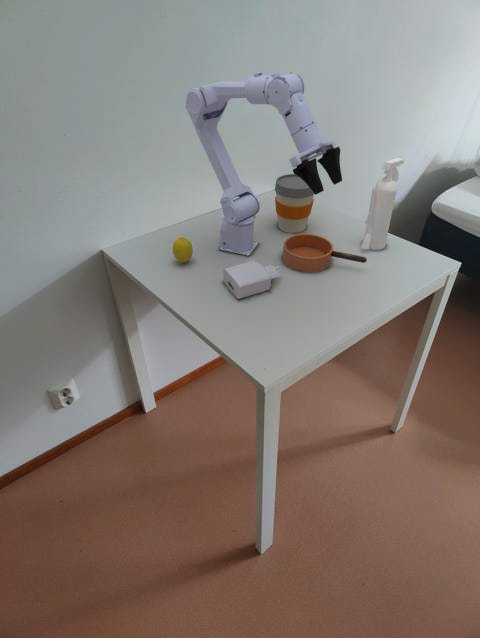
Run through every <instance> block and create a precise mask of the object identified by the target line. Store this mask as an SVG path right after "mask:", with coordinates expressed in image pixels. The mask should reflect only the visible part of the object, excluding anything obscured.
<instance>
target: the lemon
mask: <svg viewBox="0 0 480 638" xmlns="http://www.w3.org/2000/svg"><path fill="white" fill-rule="evenodd" d="M193 251H194V249H193V245H192V242H191V241H190V239H188V238H186V237H185V236H180V237H178V238H177V239H175V240H174V242H173V243H172V254H173V256H174V258H175V259H176V260H177V261H179V262H181V263H186V262H188V261H190V260H191V258H192V256H193V254H194V253H193Z"/></svg>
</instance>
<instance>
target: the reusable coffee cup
mask: <svg viewBox="0 0 480 638" xmlns="http://www.w3.org/2000/svg"><path fill="white" fill-rule="evenodd" d="M274 192H275V196H274V197H275V198H274V203H275V213H276V215H277V227H278V228H279V230H281V231H282V232H285V233H290V234H296V233H301V232H304V231H305V230H306V228H307V223H308V220H309V216H310V215H311V213H312V209H313V205H314V203H315V202H314V201H315V199H314V196H315V194H314V192H313V191H312V190H311V189H310V187H309V186H308V185H307V184H306V183H305V182H304V181H303V180H302V179H301V178H300V177H298V176H297V175H295V174H294V173H287V174H283V175H281V176H279V177H277V178H276V180H275V185H274Z"/></svg>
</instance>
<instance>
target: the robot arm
mask: <svg viewBox="0 0 480 638" xmlns="http://www.w3.org/2000/svg"><path fill="white" fill-rule="evenodd" d="M304 94H305V83H304V80H303V78H302V76H301V75H300V74H298V73H296V72H288V73H287V74H282V75H281V74H280V72H278V71H277V72H272V73H271V74H263V72H262V71H258V72H254V73H253V75H251V76H249V77H248V78H247V79H246V81H234V80H229V81H228V80H223V81H218V82H213V83H209V84H205V85H201V86H198V87H192V88H190V89H189V90H188V91H187V93H186V97H185V105H184V106H185V109H186V111H187V113H188V116H189V117H190V120H191V122H192V124H193V126H194V129H195V132H196V135H197V137H198V139H199V141H200V143H201V146H202V147H203V150H204V152H205V154H206V156H207V158H208V161H209V164H210V165H211V167H212V169H213V172H214V174H215V175H216V178H217V180H218V183H219V185H220V186H221V188H222V191H223V193H222V196H221V198H220V201H219V203H220V205H221V208H222V214H223V219H222V221H221V222H220V228H219V229H220V230H219V233H220V234H219V235H220V236H219V237H220V247H219V250H220V251H223V252H224V251H225V252H229V253H233V254H239V255H242V256H249V257H250V255H251V254H252V253H253V251H254V250H255V249H256V247H257V246H258V245H259V242H258V241H254V240H255V239H254V238H255V236H254V235H255V219H256V216H257V214H258V213H259V212H260V209H261V204H260V200H259V198H258V197H257V195H255V194H254V192H253V191H252V188H251V187H250V186H248V185H246V184H245V183H243V182H242V180H241V179H240V176H239V173H238V172H237V170H236V168H235V166H234V163H233V161H232V159H231V156H230V155H229V152H228V150H227V148H226V145H225V143H224V141H223V139H222V136H221V135H220V132H219V130H218V124H219V123H220V121H221V119H222V117H223V115H224V112H225V111H226V108H227V106H228V103H229V102H230V101H231V99H246V101H247V102H248V103H249V104H252V105H271V106H272V107H274V108H275V109H276V110H277V112H278V114H279V115H281V116H282V118H283V121H284V123H285V125H286V128H287V129H288V133H289V134H290V136H291V138H292V140H293V143H294V145H295V147H296V149H297V151H298V153H297V154H296V155H294V156H293V157H291V158H289V163H290V165H291V167H292V173H293V174H295V175H297V176H298V177H300V178H301V179H302V180H303V181H304V182H305V183H306V184H307V185H308V186H309V187H310V189H311V190H312V191H313V192H314V196H315V195H319V194H321V193H322V192H324V189H325V188H324V186H323V183H322V180H321V177H320V175H319V170H318V165H317V163H319V164H320V165H321V167H322V168H323V169H324V171H325V172H326V174H327V175H328V177H329V180H330V181H331V182H332V184H333V185H334V186H335V185H337V184H339V183H341V182H343V177H342V169H341V148H340V146H337V144H336V142H335V141H334V140H335V139H331V140H328V139H326V140H324V139H323V137H322V134H321V133H320V130H319V128H318V126H317V124H316V123H317V122H316V121H315V119H314V116H313V114H312V112H311V110H310V107H309V106H308V103H307V101H306V98H305V96H304ZM320 156H321V157H320ZM318 157H320V158H319V159H317V158H318Z"/></svg>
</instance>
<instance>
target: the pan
mask: <svg viewBox="0 0 480 638" xmlns="http://www.w3.org/2000/svg"><path fill="white" fill-rule="evenodd" d="M329 251H330V252H329ZM332 251H334V245H333V243H332V242H331V241H330V240H329V239H327V238H326V237H324V236H322V235H317V234H313V233H299V234H295V235H291V236H289V237H287V238H286V239H285V240H284V242H283V248H282V261H283V263H284V264H285V266H287V267H288V268H290V269H291V270H294V271H296V272H300V273H318V272H322V271H324V270H326V269H328V268H329V267H330V265H331V263H332V261H333V259H332V258H333V257H332V256H331V254H332ZM328 252H329V253H328Z"/></svg>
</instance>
